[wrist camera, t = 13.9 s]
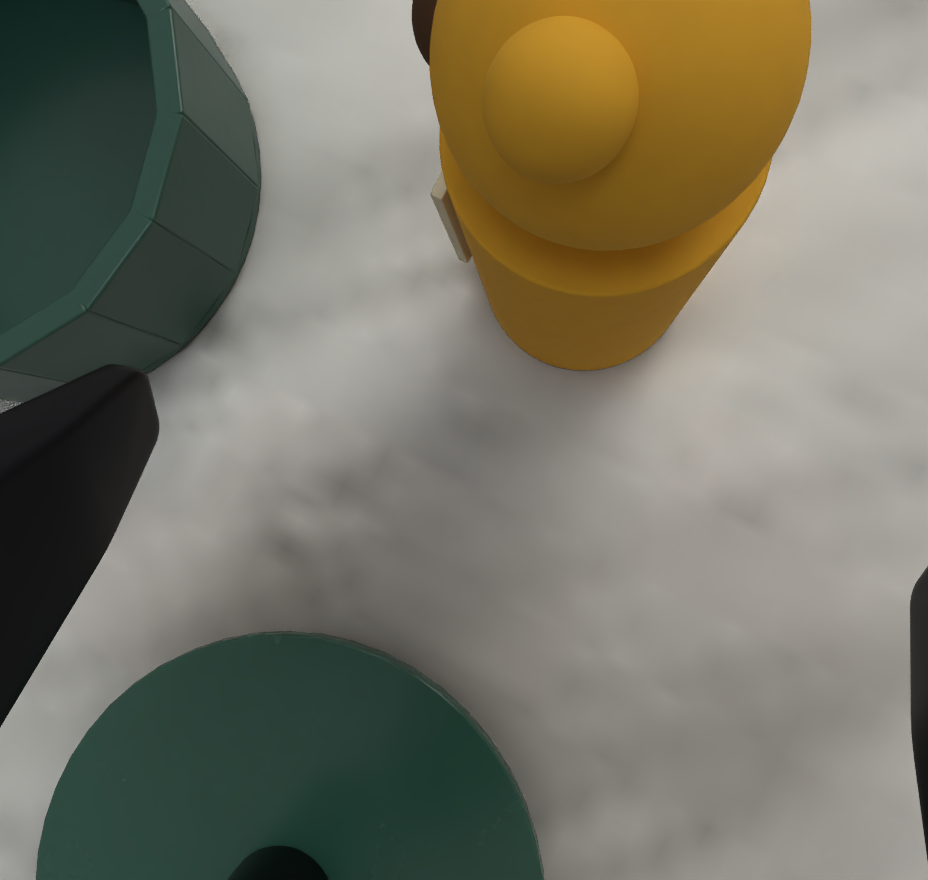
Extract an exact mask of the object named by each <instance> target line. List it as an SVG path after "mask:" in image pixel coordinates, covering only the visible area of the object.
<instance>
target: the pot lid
mask: <svg viewBox="0 0 928 880" xmlns="http://www.w3.org/2000/svg"><path fill="white" fill-rule="evenodd" d="M36 880H544V871H543V865H542V860H541V855H540V850H539V845H538V840H537V835H536V832H535V829H534V826H533V823H532V820H531V817H530V814H529V811H528V808H527V804H526V801H525V799H524V797H523V795H522V793H521V791H520V789H519V787H518V784H517V782H516V780H515V778H514V776H513V774H512V772H511V770H510V768H509V766H508V765H507V763H506V762H505V760H504V759H503V757H502V755H501V754H500V752H499V751H498V749H497V748H496V746H495V745H494V743H493V741H492V740H491V738H490V737H489V736H488V735H487V734H486V733H485V731H484V730H483V729H482V728H481V727H480V725H479V724H478V723H477V722H476V721H475V719H474V718H473V717H472V716H471V715H470V713H469V712H468V711H467V710H466V709H465V708H463V707H462V706H461V705H460V704H459V703H458V702H457V701H456V700H455V699H454V698H453V697H452V696H451V695H449V694H448V693H447V692H446V691H445V690H444V689H443V688H442V687H440V686H439V685H437V684H436V683H435V682H433V681H432V680H430V679H429V678H428V677H426V676H425V675H423V674H422V673H421V672H419V671H418V670H416V669H415V668H413V667H411V666H409V665H407V664H405V663H404V662H402V661H400V660H398V659H396V658H394V657H392V656H390V655H388V654H387V653H385V652H382V651H379V650H376V649H374V648H371V647H368V646H366V645H363V644H360V643H358V642H355V641H351V640H347V639H342V638H338V637H334V636H329V635H325V634H318V633H307V632H296V631H278V632H257V633H252V634H247V635H241V636H236V637H231V638H226V639H223V640H220V641H217V642H214V643H211V644H208V645H205V646H202V647H199V648H196V649H194V650H191V651H189V652H187V653H185V654H183V655H181V656H179V657H177V658H175V659H173V660H171V661H169V662H167V663H165V664H163V665H161V666H159V667H158V668H156V669H155V670H153V671H152V672H150V673H149V674H147V675H146V676H144V677H143V678H142V679H140V680H139V681H137V682H136V683H134V684H133V685H132V686H131V687H130V688H128V689H127V690H126V691H125V692H124V693H123V694H122V695H121V696H119V697H118V698H117V699H116V700H115V701H114V702H113V703H112V704H110V705H109V707H108V708H107V709H106V710H105V711H104V712H103V714H102V715H101V716H100V717H99V718H98V719H97V721H96V722H95V723H94V724H93V725H92V726H91V727H90V729H89V730H88V731H87V733H86V734H85V736H84V737H83V739H82V740H81V742H80V744H79V745H78V747H77V748H76V750H75V751H74V753H73V754H72V756H71V757H70V759H69V761H68V763H67V765H66V767H65V770H64V772H63V774H62V776H61V778H60V780H59V782H58V784H57V786H56V788H55V791H54V794H53V797H52V800H51V803H50V806H49V809H48V812H47V815H46V818H45V821H44V826H43V831H42V836H41V841H40V845H39V850H38V860H37V871H36Z"/></svg>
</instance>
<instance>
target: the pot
mask: <svg viewBox="0 0 928 880" xmlns="http://www.w3.org/2000/svg"><path fill="white" fill-rule="evenodd" d="M260 186H261V168H260V150H259V145H258V139H257V134H256V128H255V123H254V120H253V117H252V114H251V111H250V107H249V103H248V99H247V97H246V95H245V94H244V92H243V90H242V88H241V86H240V84H239V82H238V79H237V77H236V75H235V73H234V72H233V70H232V69H231V67H230V66H229V64H228V63H227V61H226V60H225V58H224V57H223V55H222V53H221V52H220V50H219V48H218V46H217V45H216V43H215V41H214V39H213V38H212V36H211V34H210V32H209V31H208V29H207V28H206V27H205V26H204V24H203V23H202V22H201V20H200V19H199V18H198V17H197V15H196V14H195V13H194V11H193V10H192V9H191V8H190V6H189V5H188V4H187V2H186V1H185V0H0V399H3V400H10V401H17V402H27V401H29V400H31V399H33V398H35V397H37V396H40V395H42V394H44V393H46V392H48V391H50V390H53V389H55V388H57V387H59V386H61V385H63V384H66V383H68V382H70V381H72V380H74V379H76V378H78V377H81V376H83V375H85V374H87V373H89V372H91V371H94V370H96V369H98V368H100V367H102V366H105V365H108V364H118V365H123V366H127V367H132V368H137V369H140V370H142V371H144V372H145V373H148V372H150V371H152V370H153V369H155V368H156V367H158V366H159V365H161V364H162V363H163V362H165V361H166V360H168V359H169V358H171V357H172V356H173V355H175V354H176V353H177V352H178V351H179V350H181V349H182V348H183V347H184V346H185V345H186V344H187V343H188V342H189V341H190V340H191V339H193V338H194V337H195V336H196V335H197V334H198V333H199V331H200V330H201V329H202V328H203V327H204V326H205V324H206V323H207V322H208V321H209V320H210V319H211V317H212V316H213V315H214V314H215V313H216V311H217V310H218V308H219V306H220V305H221V303H222V302H223V300H224V299H225V297H226V296H227V294H228V293H229V291H230V290H231V288H232V286H233V284H234V282H235V280H236V278H237V276H238V274H239V272H240V269H241V267H242V265H243V263H244V261H245V258H246V255H247V252H248V249H249V246H250V243H251V240H252V237H253V233H254V229H255V224H256V219H257V214H258V209H259V199H260Z"/></svg>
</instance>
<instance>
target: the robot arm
mask: <svg viewBox="0 0 928 880" xmlns="http://www.w3.org/2000/svg"><path fill="white" fill-rule="evenodd" d="M158 434H159V419H158V415H157V410H156V406H155V402H154V398H153V394H152V390H151V385H150V381H149V378H148V376H147V375H146V373H145V372H144V371H142V370H140V369H137V368H132V367H127V366H123V365H118V364H108V365H105V366H102V367H100V368H98V369H96V370H94V371H91V372H89V373H87V374H85V375H83V376H81V377H78V378H76V379H74V380H72V381H70V382H68V383H66V384H63V385H61V386H59V387H57V388H55V389H53V390H50V391H48V392H46V393H44V394H42V395H40V396H37V397H35V398H33V399H31V400H29V401H27V402H24V403H22V404H20V405H18V406H16V407H14V408H12V409H9V410H7V411H5V412H3V413H1V414H0V727H1V725H2V723H3V722H4V720H5V718H6V717H7V715H8V714H9V712H10V710H11V709H12V707H13V705H14V704H15V702H16V700H17V699H18V697H19V695H20V694H21V692H22V690H23V689H24V687H25V685H26V684H27V682H28V680H29V679H30V677H31V675H32V674H33V672H34V670H35V669H36V667H37V665H38V664H39V662H40V660H41V659H42V657H43V655H44V654H45V652H46V650H47V649H48V647H49V645H50V644H51V642H52V640H53V639H54V637H55V635H56V634H57V632H58V630H59V629H60V627H61V625H62V624H63V622H64V620H65V619H66V617H67V615H68V614H69V612H70V610H71V609H72V607H73V605H74V604H75V602H76V600H77V599H78V597H79V595H80V594H81V592H82V590H83V589H84V587H85V585H86V584H87V582H88V580H89V579H90V577H91V575H92V574H93V572H94V570H95V569H96V567H97V565H98V564H99V562H100V560H101V558H102V557H103V555H104V553H105V551H106V550H107V548H108V546H109V544H110V542H111V540H112V538H113V536H114V534H115V532H116V530H117V528H118V525H119V523H120V521H121V519H122V517H123V514H124V512H125V510H126V508H127V506H128V503H129V501H130V499H131V497H132V495H133V492H134V490H135V488H136V486H137V483H138V481H139V479H140V477H141V475H142V472H143V470H144V468H145V466H146V464H147V461H148V459H149V457H150V455H151V453H152V450H153V448H154V446H155V444H156V441H157V438H158ZM910 663H911V732H912V743H913V753H914V761H915V769H916V776H917V784H918V791H919V799H920V807H921V814H922V822H923V829H924V837H925V844H926V852H927V860H928V567H927V568H926V569H925V571H924V572H923V574H922V575H921V576H920V578H919V579H918V581H917V582H916V584H915V586H914V589H913V591H912V595H911V601H910Z"/></svg>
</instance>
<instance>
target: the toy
mask: <svg viewBox="0 0 928 880" xmlns="http://www.w3.org/2000/svg"><path fill="white" fill-rule="evenodd" d="M412 25H413V32H414V36H415V40H416V43H417V45H418V48H419V50H420V52H421V54H422V56H423V58H424V59H425V61H426V62H427V63H428V65H429V66H430V79H431V87H432V95H433V100H434V106H435V109H436V113H437V117H438V121H439V125H440V149H439V150H440V158H441V166H442V172H441V174H440V176H439V178H438V180H437V182H436V184H435V186H434V188H433V190H432V192H431V197H432V199H433V201H434V204H435V206H436V208H437V211H438V213H439V215H440V217H441V220H442V222H443V224H444V226H445V229H446V231H447V233H448V235H449V238H450V240H451V242H452V244H453V247H454V249H455V251H456V253H457V256H458V258H459V260H462V261H464V262H466V263H468V262H469V260H470V258H471V256H472V257H473V260H474V263H475V265H476V268H477V270H478V273H479V276H480V278H481V281H482V284H483V286H484V289H485V292H486V294H487V297H488V300H489V302H490V305H491V307H492V310H493V312H494V315H495V317H496V318H497V320H498V322H499V324H500V325H501V327H502V328H503V330H504V331H505V332H506V334H507V335H508V336H509V337H510V338H511V339H512V340H513V341H514V342H515V343H516V344H517V345H518V346H519V347H520V348H521V349H523V350H524V351H525V352H527V353H528V354H529V355H531V356H533V357H535V358H537V359H538V360H540V361H543V362H545V363H547V364H550V365H553V366H556V367H560V368H564V369H571V370H597V369H604V368H608V367H612V366H615V365H618V364H621V363H623V362H626V361H628V360H630V359H632V358H634V357H636V356H637V355H639V354H641V353H642V352H644V351H645V350H646V349H648V348H649V347H650V346H652V345H653V344H654V343H655V342H656V341H657V340H658V339H659V338H660V337H661V336H662V334H663V333H664V332H665V331H666V329H667V328H668V327H669V325H670V324H671V323H672V321H673V320H674V319H675V317H676V316H677V315H678V313H679V312H680V310H681V309H682V308H683V306H684V305H685V304H686V302H687V301H688V300H689V298H690V297H691V295H692V294H693V293H694V291H695V290H696V289H697V287H698V286H699V285H700V283H701V282H702V280H703V279H704V278H705V276H706V275H707V274H708V272H709V271H710V269H711V268H712V267H713V265H714V264H715V263H716V261H717V260H718V259H719V257H720V256H721V254H722V253H723V252H724V250H725V249H726V248H727V246H728V245H729V244H730V242H731V241H732V239H733V238H734V237H735V235H736V234H737V233H738V231H739V230H740V229H741V227H742V226H743V224H744V223H745V222H746V220H747V218H748V217H749V215H750V213H751V212H752V210H753V208H754V207H755V205H756V203H757V201H758V199H759V197H760V194H761V192H762V189H763V187H764V185H765V182H766V179H767V175H768V172H769V168H770V164H771V161H772V157H773V155H774V153H775V152H776V150H777V148H778V146H779V145H780V143H781V141H782V140H783V138H784V136H785V134H786V132H787V130H788V128H789V126H790V123H791V121H792V119H793V116H794V114H795V111H796V109H797V107H798V104H799V102H800V98H801V94H802V91H803V87H804V83H805V80H806V74H807V69H808V62H809V55H810V47H811V11H810V2H809V0H413V4H412Z"/></svg>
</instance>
